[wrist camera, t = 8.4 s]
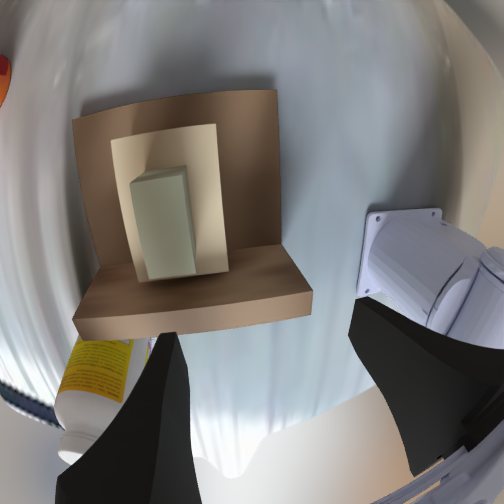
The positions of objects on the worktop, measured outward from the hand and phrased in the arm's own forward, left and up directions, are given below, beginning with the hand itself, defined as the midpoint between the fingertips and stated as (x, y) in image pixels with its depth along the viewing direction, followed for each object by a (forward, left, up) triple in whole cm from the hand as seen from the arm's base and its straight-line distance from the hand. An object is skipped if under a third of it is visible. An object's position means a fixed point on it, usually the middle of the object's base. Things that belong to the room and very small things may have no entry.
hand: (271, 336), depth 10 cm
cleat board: (+4, -4, -10) cm, 12 cm away
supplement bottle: (+12, +8, -11) cm, 18 cm away
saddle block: (+4, -4, -9) cm, 11 cm away
